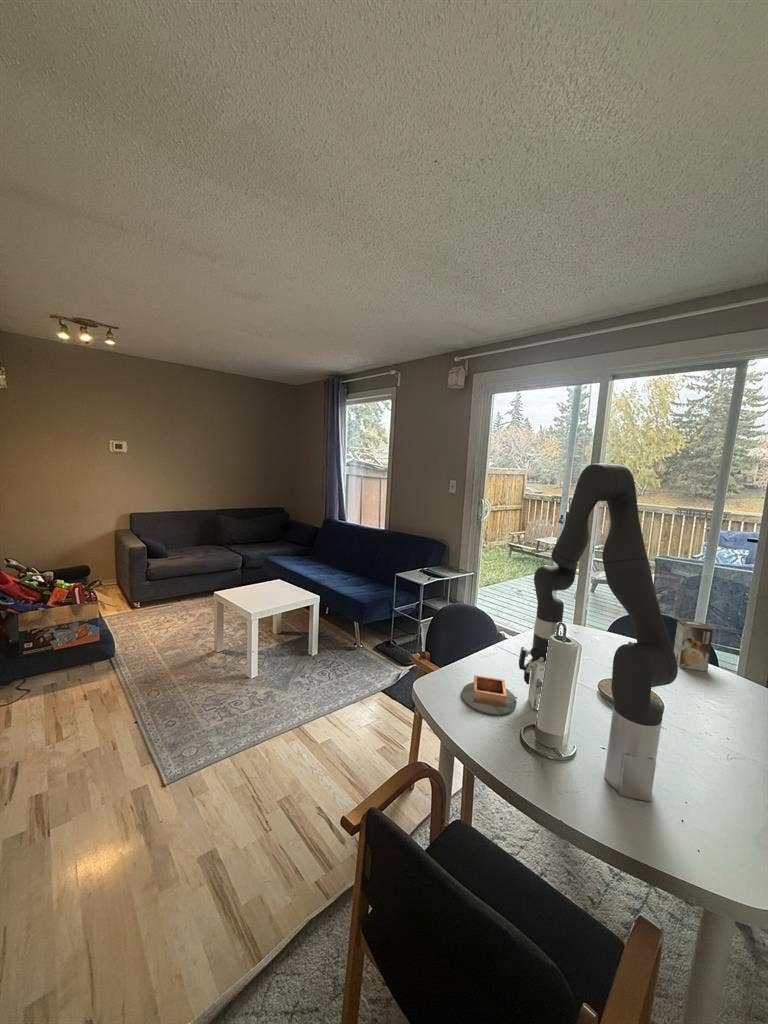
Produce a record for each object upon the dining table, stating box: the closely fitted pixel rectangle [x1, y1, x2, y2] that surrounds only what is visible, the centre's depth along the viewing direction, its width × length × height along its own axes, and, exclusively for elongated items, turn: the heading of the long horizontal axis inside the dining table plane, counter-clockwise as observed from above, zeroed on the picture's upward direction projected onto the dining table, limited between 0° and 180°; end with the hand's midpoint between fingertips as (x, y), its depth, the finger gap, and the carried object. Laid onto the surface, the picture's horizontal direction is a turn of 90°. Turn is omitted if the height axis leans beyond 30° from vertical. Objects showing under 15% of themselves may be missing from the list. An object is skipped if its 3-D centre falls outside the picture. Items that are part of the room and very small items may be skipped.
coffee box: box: [673, 619, 714, 672], centre depth 150 cm, size 9×6×16 cm
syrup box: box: [527, 660, 545, 711], centre depth 120 cm, size 6×6×14 cm
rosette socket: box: [461, 674, 517, 717], centre depth 123 cm, size 16×16×4 cm
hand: (542, 685), depth 120 cm, fingers open, 8 cm apart
